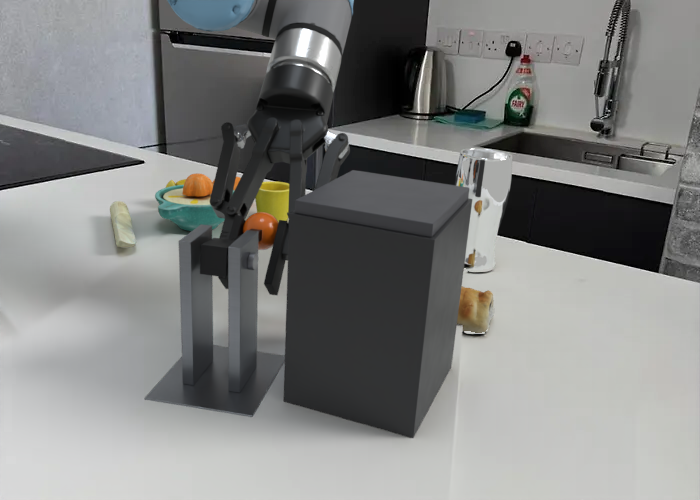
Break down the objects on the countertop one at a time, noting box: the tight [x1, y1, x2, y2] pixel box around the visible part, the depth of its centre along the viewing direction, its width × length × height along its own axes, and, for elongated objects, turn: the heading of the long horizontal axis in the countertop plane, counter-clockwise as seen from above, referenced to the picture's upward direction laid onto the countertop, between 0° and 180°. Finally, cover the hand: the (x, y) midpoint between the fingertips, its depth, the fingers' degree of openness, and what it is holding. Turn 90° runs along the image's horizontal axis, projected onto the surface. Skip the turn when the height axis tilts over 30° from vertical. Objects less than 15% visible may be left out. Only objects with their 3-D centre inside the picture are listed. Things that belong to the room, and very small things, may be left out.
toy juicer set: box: [109, 172, 289, 248], centre depth 99 cm, size 29×18×8 cm, turn 132°
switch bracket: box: [144, 225, 285, 418], centre depth 56 cm, size 10×9×14 cm
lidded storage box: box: [283, 169, 472, 439], centre depth 56 cm, size 12×12×18 cm
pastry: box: [457, 285, 495, 333], centre depth 74 cm, size 9×7×4 cm
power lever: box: [200, 212, 279, 277], centre depth 60 cm, size 14×4×4 cm, turn 169°
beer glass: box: [454, 147, 514, 270], centre depth 88 cm, size 7×7×15 cm
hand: (248, 286), depth 63 cm, fingers closed on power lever, 4 cm apart
